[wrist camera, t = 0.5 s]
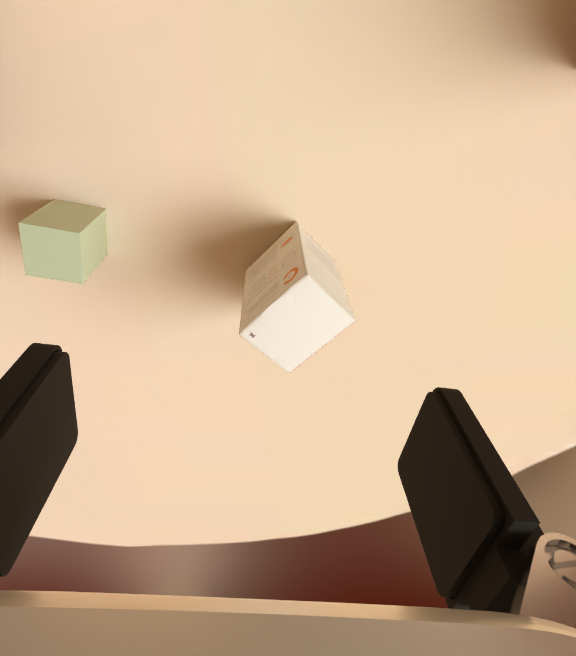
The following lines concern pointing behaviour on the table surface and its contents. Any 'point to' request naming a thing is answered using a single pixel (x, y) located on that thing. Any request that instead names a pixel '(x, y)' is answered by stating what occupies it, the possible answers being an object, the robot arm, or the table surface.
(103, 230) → the sage block
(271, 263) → the small box
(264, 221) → the table surface
